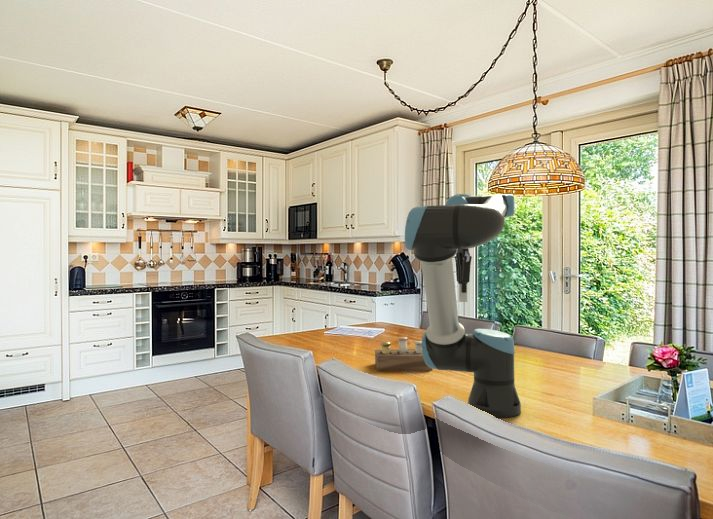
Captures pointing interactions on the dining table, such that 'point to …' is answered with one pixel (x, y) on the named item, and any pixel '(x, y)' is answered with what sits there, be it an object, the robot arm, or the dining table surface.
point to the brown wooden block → (400, 361)
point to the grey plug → (418, 346)
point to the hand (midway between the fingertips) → (462, 301)
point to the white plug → (402, 345)
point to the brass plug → (385, 347)
